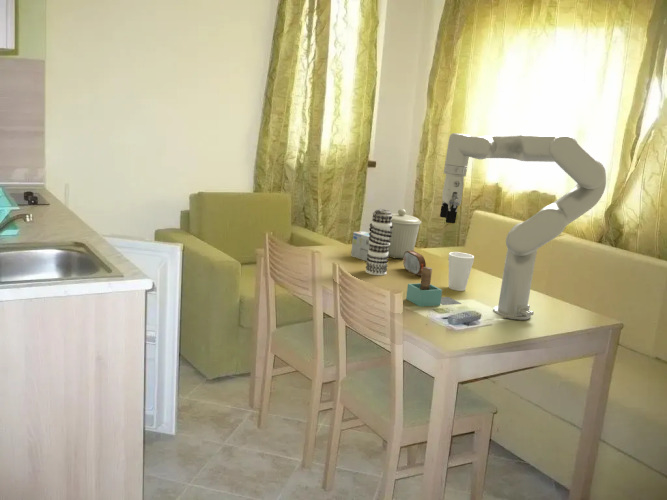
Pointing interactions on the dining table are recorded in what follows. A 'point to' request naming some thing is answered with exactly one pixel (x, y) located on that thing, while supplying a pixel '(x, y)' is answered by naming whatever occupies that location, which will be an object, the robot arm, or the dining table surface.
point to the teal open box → (424, 295)
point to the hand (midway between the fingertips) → (447, 220)
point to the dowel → (426, 278)
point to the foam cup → (459, 270)
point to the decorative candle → (379, 242)
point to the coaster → (448, 301)
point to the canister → (403, 234)
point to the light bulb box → (360, 245)
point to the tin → (414, 262)
